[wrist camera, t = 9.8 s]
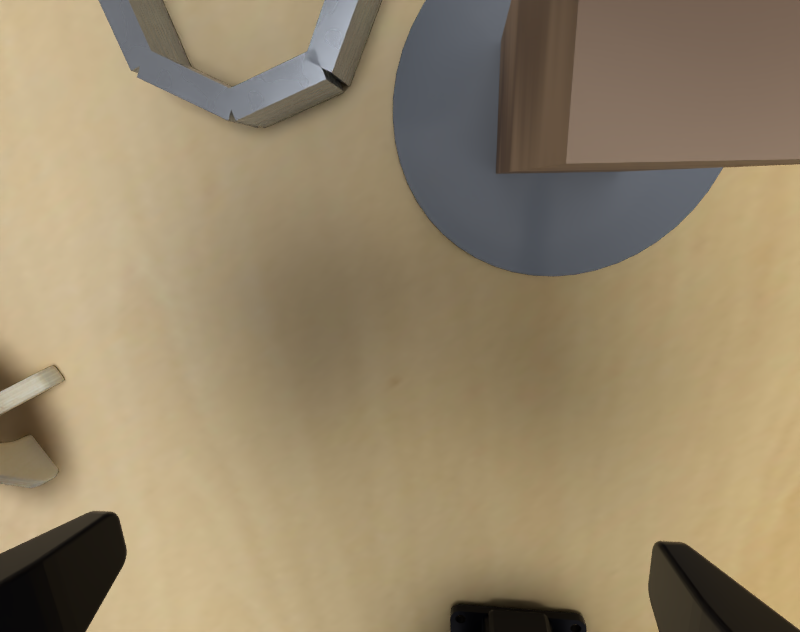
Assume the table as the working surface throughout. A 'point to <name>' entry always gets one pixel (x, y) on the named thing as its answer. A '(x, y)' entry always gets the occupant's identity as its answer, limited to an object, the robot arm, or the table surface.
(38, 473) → the toy table
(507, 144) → the walnut peg
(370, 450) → the table surface
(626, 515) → the table surface
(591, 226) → the slate coaster
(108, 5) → the steel ring
